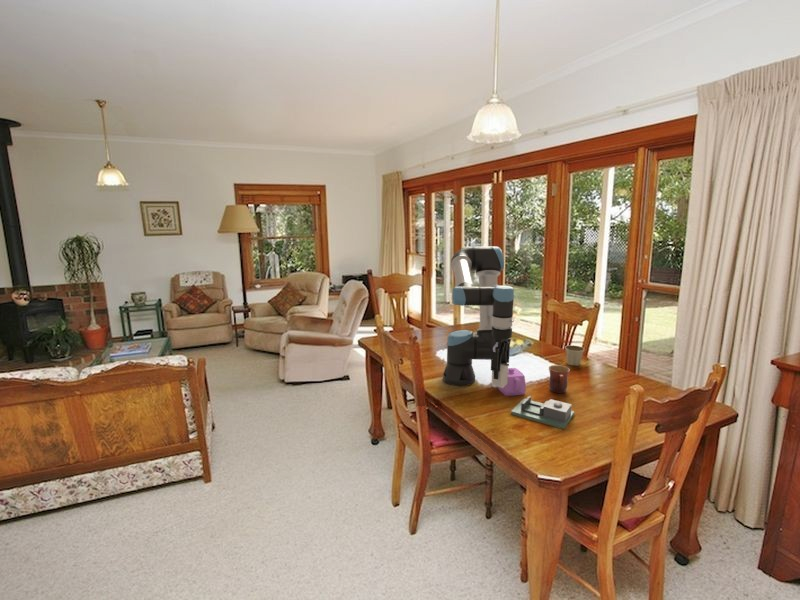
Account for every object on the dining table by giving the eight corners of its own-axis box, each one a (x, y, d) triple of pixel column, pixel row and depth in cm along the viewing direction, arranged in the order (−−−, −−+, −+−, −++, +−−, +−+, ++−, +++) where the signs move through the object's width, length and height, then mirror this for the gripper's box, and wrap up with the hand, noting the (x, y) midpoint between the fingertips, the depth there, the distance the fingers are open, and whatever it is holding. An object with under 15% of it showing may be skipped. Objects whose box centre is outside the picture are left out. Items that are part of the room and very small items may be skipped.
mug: (545, 385, 187) (547, 364, 185) (566, 387, 185) (567, 365, 183) (549, 397, 175) (551, 374, 173) (571, 398, 174) (573, 375, 172)
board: (510, 414, 161) (511, 400, 160) (523, 401, 172) (524, 388, 171) (563, 429, 149) (565, 414, 148) (574, 414, 160) (575, 400, 159)
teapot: (491, 382, 191) (492, 362, 189) (513, 381, 192) (514, 360, 190) (506, 399, 174) (507, 376, 171) (530, 397, 175) (531, 375, 173)
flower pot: (566, 359, 220) (567, 344, 219) (585, 363, 215) (586, 347, 213) (561, 364, 213) (562, 348, 211) (580, 368, 208) (582, 352, 206)
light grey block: (491, 385, 161) (492, 365, 159) (496, 381, 165) (497, 361, 163) (502, 388, 158) (503, 367, 157) (507, 383, 162) (508, 364, 160)
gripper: (501, 334, 147) (499, 394, 152) (520, 322, 161) (516, 378, 166) (482, 330, 152) (480, 389, 157) (501, 320, 165) (499, 374, 171)
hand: (499, 383), depth 162 cm, fingers closed on light grey block, 5 cm apart
